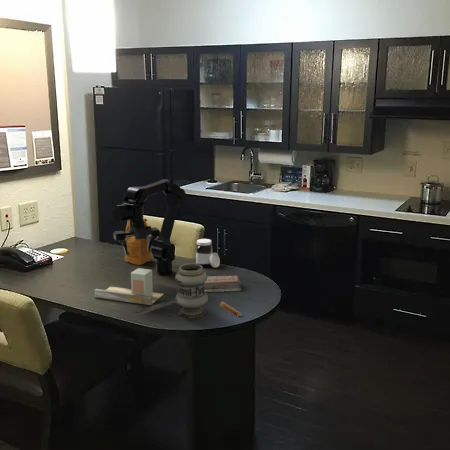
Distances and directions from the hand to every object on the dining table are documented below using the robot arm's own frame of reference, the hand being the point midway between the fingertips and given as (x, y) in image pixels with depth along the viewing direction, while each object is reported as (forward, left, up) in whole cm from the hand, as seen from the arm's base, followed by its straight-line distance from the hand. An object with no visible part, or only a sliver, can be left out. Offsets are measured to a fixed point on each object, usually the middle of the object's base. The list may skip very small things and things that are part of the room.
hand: (137, 253), depth 222 cm
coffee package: (-7, -28, -13) cm, 32 cm away
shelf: (+8, +16, -13) cm, 22 cm away
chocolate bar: (-24, +42, -14) cm, 50 cm away
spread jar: (-36, -10, -13) cm, 40 cm away
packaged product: (-29, +18, -14) cm, 37 cm away
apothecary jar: (-10, +38, -13) cm, 41 cm away
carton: (+4, +21, -12) cm, 24 cm away
